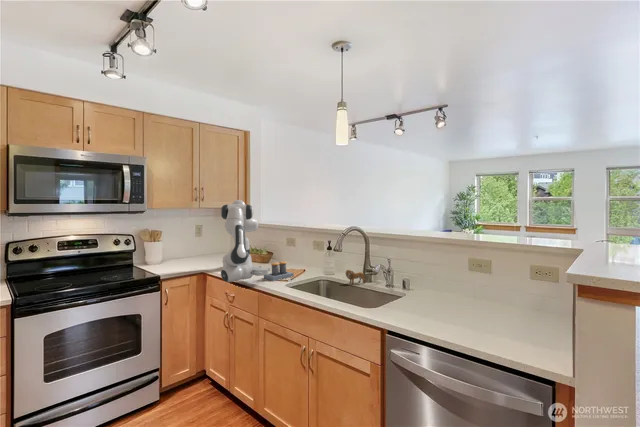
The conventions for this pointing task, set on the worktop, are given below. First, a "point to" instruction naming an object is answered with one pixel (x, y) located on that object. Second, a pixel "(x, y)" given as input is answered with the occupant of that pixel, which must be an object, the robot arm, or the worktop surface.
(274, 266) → the jaw peg
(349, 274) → the lion figurine
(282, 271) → the seated jaw
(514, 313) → the worktop surface
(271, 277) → the housing
